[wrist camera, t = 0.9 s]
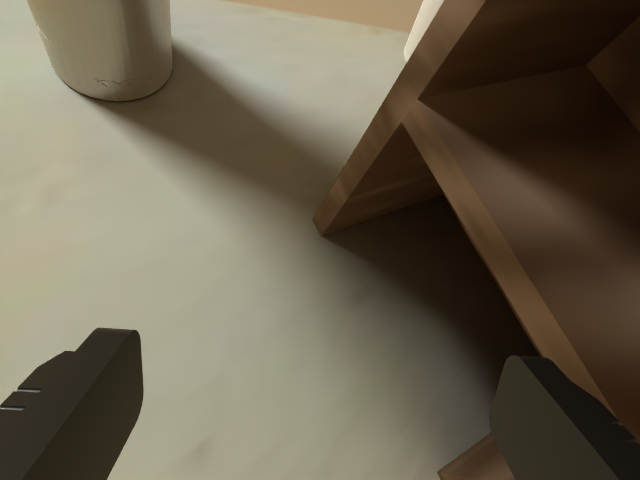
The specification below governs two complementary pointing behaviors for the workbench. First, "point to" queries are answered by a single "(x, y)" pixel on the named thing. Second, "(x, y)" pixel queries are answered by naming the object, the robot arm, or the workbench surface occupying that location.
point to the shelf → (525, 177)
